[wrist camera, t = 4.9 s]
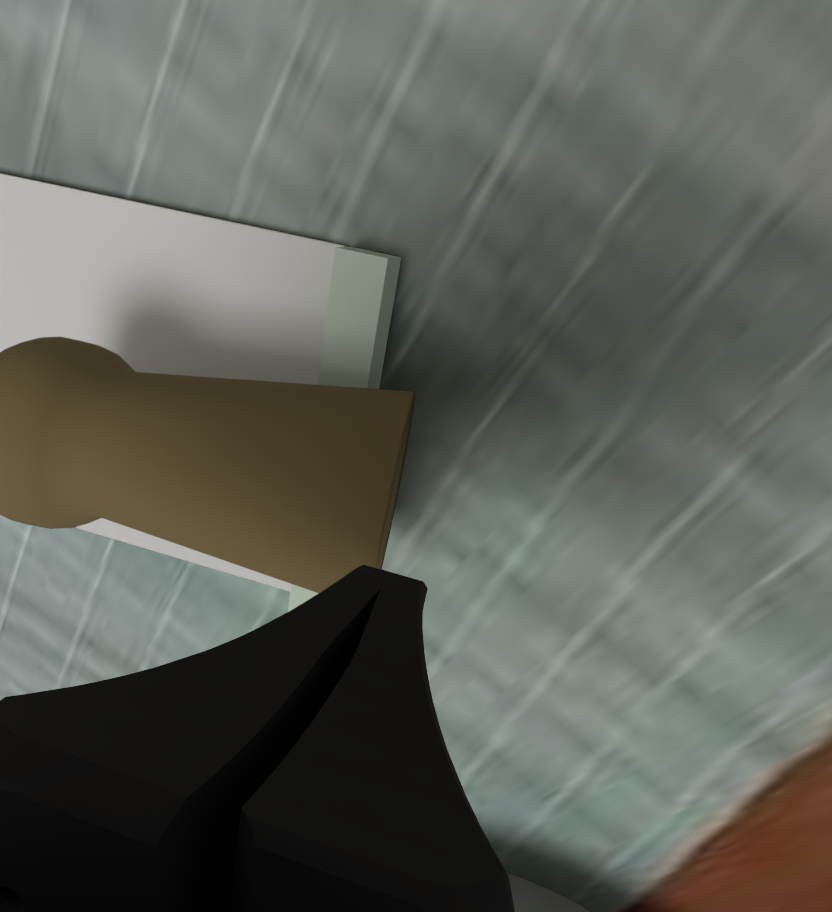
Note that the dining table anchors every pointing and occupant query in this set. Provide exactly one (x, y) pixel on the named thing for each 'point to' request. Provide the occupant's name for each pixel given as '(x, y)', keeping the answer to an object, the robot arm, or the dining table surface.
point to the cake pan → (539, 898)
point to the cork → (203, 459)
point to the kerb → (355, 330)
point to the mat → (162, 298)
